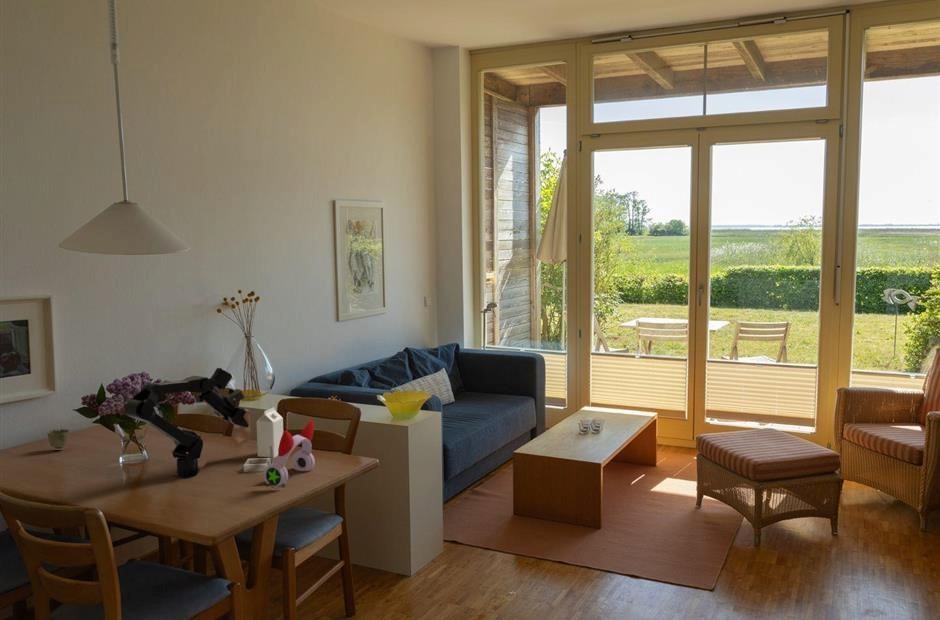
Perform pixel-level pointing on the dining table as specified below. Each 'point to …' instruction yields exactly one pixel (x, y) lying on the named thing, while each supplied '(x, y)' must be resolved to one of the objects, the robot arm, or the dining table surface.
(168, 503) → the dining table surface
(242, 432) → the peg
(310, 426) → the headphones
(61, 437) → the cup
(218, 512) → the dining table surface
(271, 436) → the milk carton
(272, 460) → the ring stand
